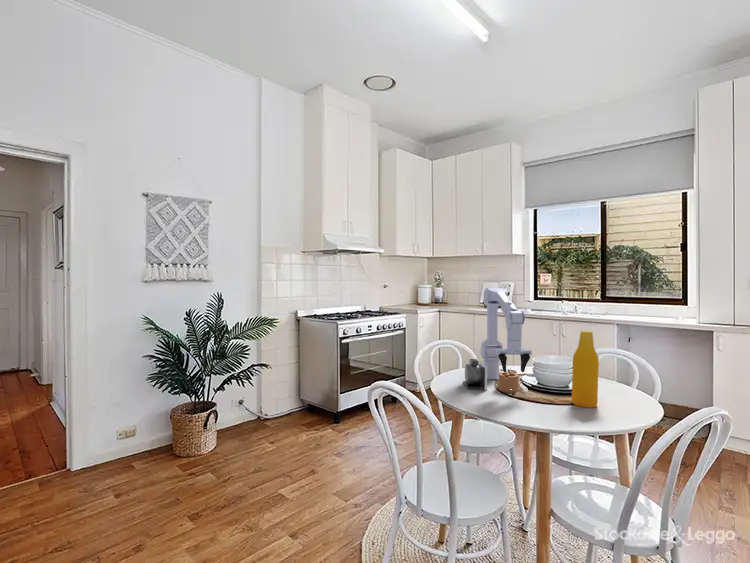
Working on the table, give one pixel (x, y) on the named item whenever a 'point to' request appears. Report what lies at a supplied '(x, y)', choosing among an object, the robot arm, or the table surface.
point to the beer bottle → (585, 372)
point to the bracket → (508, 382)
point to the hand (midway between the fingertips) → (513, 371)
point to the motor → (475, 375)
